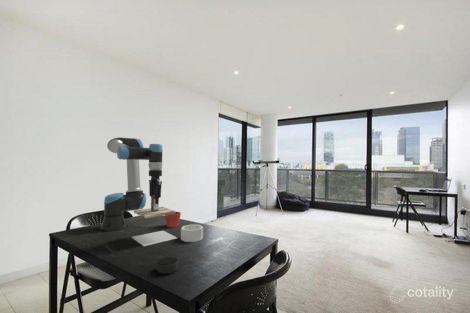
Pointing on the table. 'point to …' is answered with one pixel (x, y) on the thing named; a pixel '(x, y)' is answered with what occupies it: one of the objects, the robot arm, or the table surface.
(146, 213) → the lid
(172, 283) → the table surface
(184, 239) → the bowl
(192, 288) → the table surface
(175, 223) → the flower pot
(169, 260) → the smart speaker
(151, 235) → the tray
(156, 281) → the table surface
